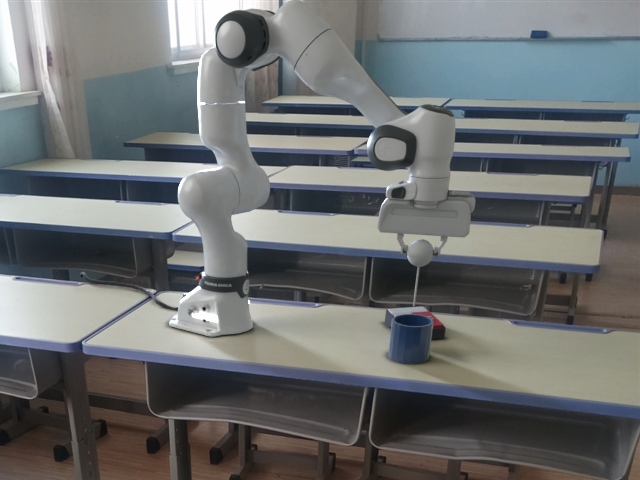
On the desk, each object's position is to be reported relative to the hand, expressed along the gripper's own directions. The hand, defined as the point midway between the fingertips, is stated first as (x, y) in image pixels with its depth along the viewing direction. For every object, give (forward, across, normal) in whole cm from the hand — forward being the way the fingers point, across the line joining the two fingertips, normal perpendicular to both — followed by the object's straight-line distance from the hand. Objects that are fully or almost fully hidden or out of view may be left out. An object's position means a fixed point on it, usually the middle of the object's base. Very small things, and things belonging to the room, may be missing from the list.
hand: (420, 254), depth 181 cm
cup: (+24, 0, 0) cm, 24 cm away
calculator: (+24, 0, -19) cm, 31 cm away
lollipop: (+12, 0, 0) cm, 12 cm away
